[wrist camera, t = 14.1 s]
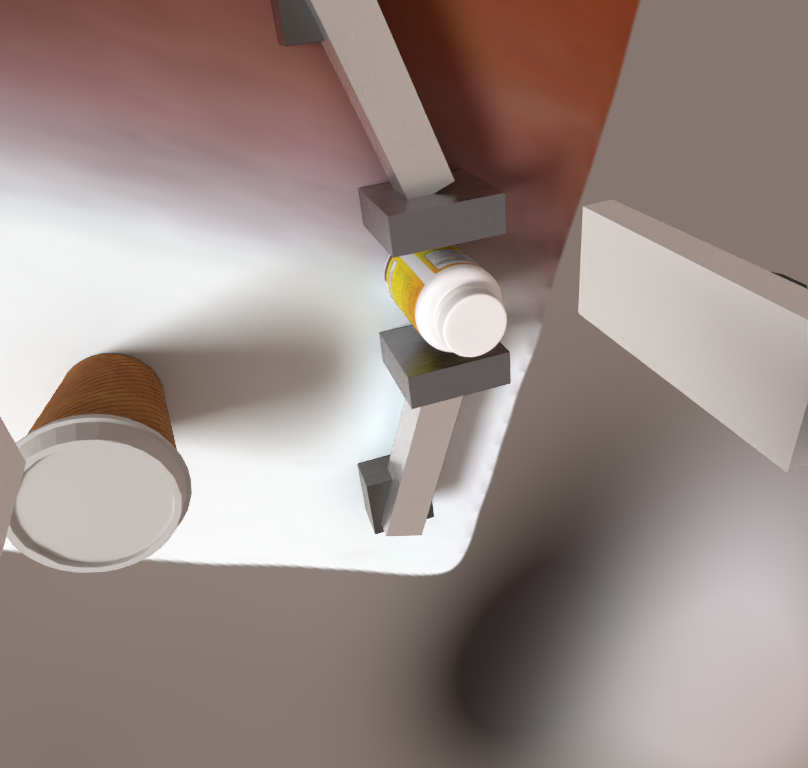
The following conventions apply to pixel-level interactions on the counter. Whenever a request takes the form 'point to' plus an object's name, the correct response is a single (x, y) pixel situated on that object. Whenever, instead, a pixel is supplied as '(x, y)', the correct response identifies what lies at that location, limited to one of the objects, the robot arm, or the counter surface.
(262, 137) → the counter surface
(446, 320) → the supplement bottle
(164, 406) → the disposable coffee cup
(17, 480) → the robot arm
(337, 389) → the counter surface
